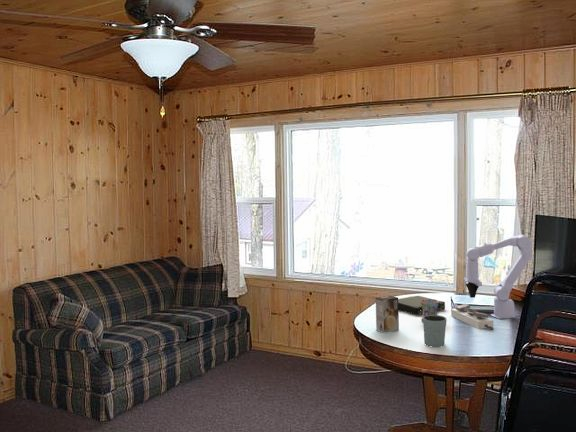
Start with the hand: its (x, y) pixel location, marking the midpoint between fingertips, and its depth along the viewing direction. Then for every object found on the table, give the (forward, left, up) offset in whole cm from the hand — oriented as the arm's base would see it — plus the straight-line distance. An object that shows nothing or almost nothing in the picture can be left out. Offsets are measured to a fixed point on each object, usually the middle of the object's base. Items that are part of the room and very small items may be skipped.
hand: (472, 297), depth 297 cm
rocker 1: (+6, +1, -5) cm, 8 cm away
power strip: (+6, +12, -10) cm, 16 cm away
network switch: (+20, -23, -11) cm, 32 cm away
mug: (+25, +2, -10) cm, 27 cm away
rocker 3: (+6, +17, -5) cm, 19 cm away
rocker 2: (+6, +9, -5) cm, 12 cm away
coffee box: (+52, +11, -10) cm, 54 cm away
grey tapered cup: (+41, +38, -10) cm, 57 cm away
